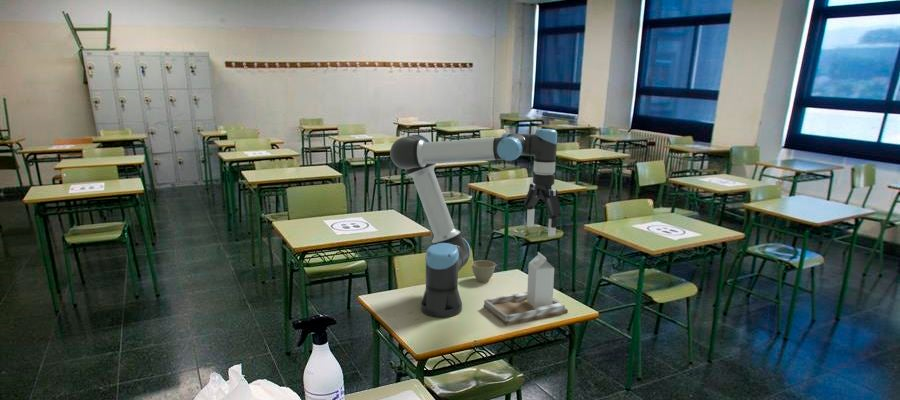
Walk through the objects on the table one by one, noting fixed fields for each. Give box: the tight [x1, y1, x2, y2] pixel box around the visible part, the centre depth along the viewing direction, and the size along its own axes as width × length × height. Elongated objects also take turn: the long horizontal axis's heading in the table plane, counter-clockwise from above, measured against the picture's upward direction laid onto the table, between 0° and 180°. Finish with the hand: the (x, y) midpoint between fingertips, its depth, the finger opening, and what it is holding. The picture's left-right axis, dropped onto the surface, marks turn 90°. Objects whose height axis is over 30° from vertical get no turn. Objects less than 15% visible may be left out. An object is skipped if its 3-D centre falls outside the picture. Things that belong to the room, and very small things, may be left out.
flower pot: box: [471, 259, 496, 283], centre depth 219 cm, size 10×10×7 cm
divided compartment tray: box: [483, 291, 569, 326], centre depth 189 cm, size 26×16×3 cm, turn 115°
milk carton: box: [526, 251, 555, 308], centre depth 190 cm, size 7×7×19 cm
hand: (540, 231), depth 187 cm, fingers open, 13 cm apart
